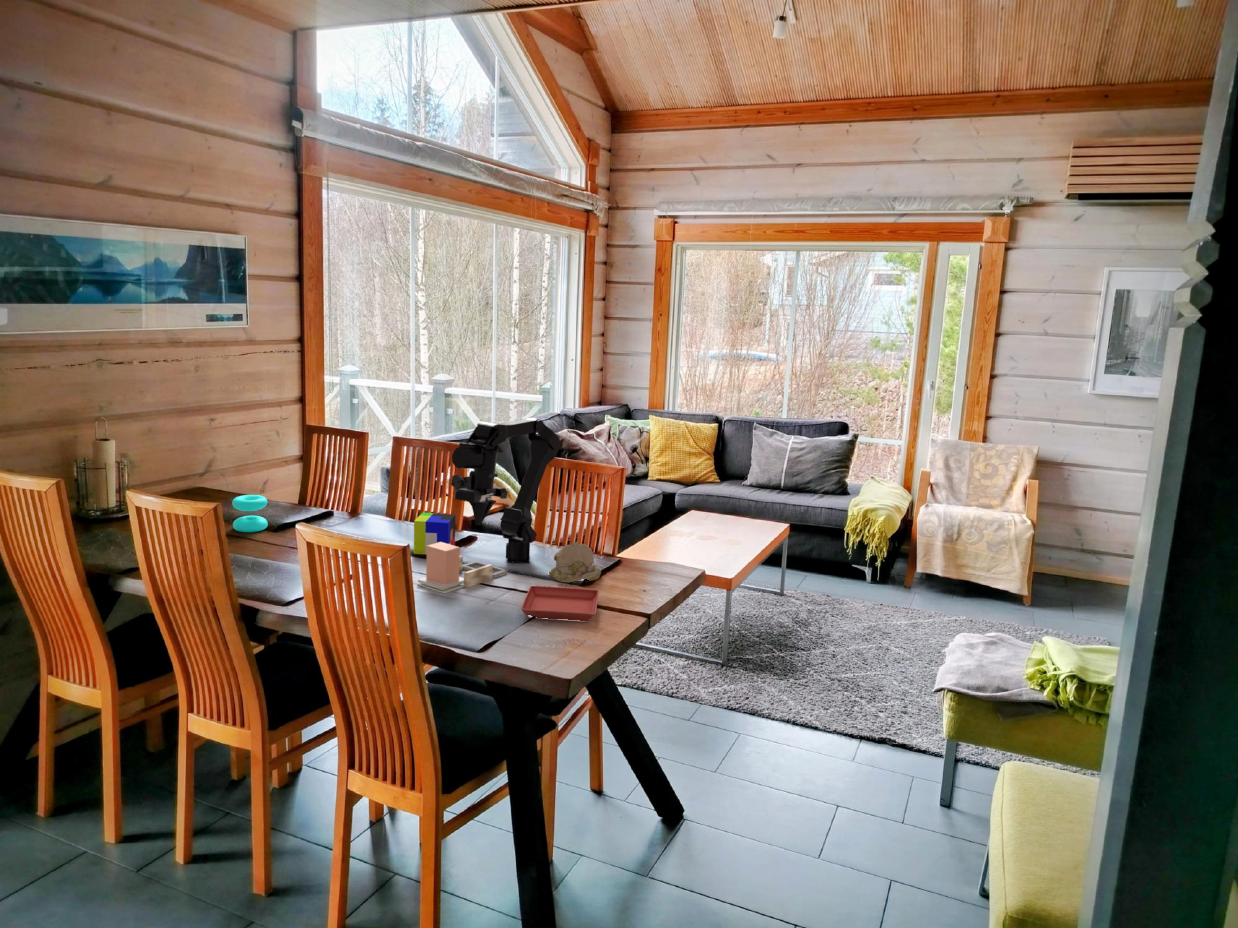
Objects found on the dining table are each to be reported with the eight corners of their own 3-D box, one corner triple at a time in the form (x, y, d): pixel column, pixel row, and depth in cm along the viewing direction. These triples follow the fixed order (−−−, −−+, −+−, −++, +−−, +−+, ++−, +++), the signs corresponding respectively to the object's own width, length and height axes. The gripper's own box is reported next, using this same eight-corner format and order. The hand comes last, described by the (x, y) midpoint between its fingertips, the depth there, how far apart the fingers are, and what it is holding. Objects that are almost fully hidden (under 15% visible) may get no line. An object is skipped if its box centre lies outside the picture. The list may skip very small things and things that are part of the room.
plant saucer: (529, 596, 227) (530, 584, 226) (598, 601, 227) (599, 588, 226) (519, 621, 209) (520, 608, 209) (594, 626, 209) (595, 613, 208)
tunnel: (459, 569, 244) (460, 555, 243) (492, 578, 238) (492, 564, 237) (433, 577, 236) (433, 563, 235) (466, 587, 229) (466, 573, 229)
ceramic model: (554, 584, 237) (556, 548, 235) (544, 571, 247) (546, 537, 245) (603, 581, 242) (605, 546, 240) (592, 568, 252) (593, 535, 250)
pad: (436, 578, 235) (436, 576, 235) (463, 586, 230) (463, 585, 230) (417, 584, 230) (417, 583, 230) (444, 593, 224) (444, 591, 224)
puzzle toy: (447, 555, 256) (448, 523, 254) (413, 553, 256) (414, 520, 254) (454, 546, 266) (455, 514, 264) (422, 544, 266) (422, 512, 264)
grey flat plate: (475, 564, 249) (475, 560, 249) (507, 573, 243) (507, 570, 243) (460, 568, 244) (460, 565, 244) (492, 578, 238) (492, 575, 238)
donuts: (254, 492, 276) (274, 497, 270) (255, 522, 278) (274, 528, 272) (225, 497, 267) (245, 503, 262) (226, 528, 269) (245, 535, 264)
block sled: (442, 574, 237) (443, 539, 235) (467, 581, 232) (467, 546, 230) (417, 582, 229) (418, 546, 227) (442, 590, 224) (443, 553, 222)
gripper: (477, 463, 249) (470, 516, 250) (440, 464, 232) (433, 522, 233) (511, 469, 245) (504, 523, 246) (476, 471, 228) (469, 530, 229)
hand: (477, 524), depth 239 cm, fingers closed
